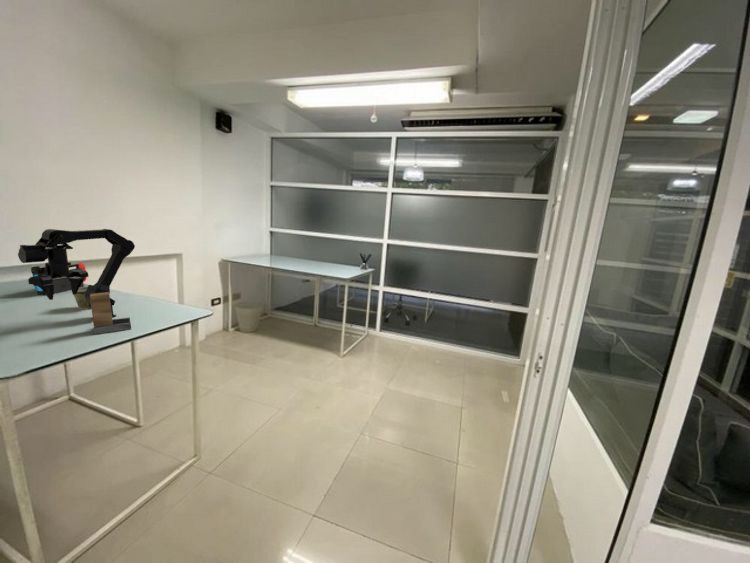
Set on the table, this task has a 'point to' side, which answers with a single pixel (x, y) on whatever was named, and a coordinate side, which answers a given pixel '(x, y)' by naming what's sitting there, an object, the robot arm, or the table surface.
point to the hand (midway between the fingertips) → (63, 297)
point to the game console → (63, 281)
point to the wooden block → (101, 309)
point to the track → (114, 326)
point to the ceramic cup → (82, 299)
